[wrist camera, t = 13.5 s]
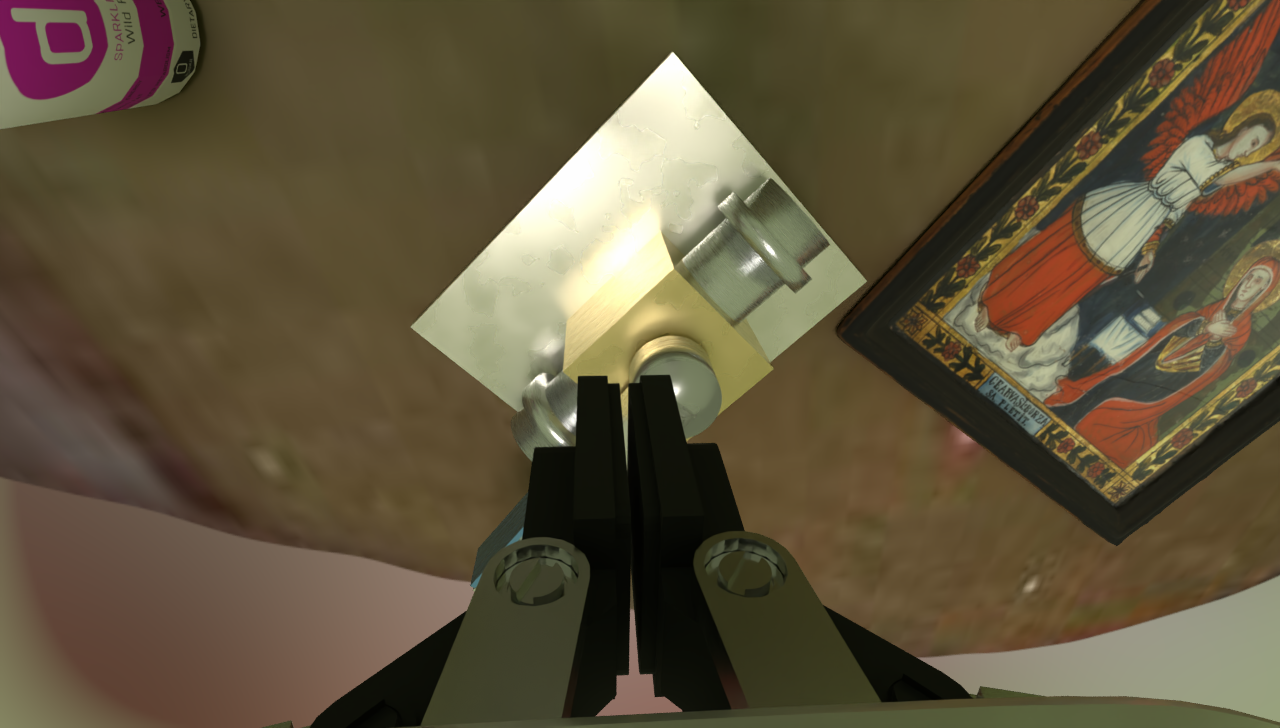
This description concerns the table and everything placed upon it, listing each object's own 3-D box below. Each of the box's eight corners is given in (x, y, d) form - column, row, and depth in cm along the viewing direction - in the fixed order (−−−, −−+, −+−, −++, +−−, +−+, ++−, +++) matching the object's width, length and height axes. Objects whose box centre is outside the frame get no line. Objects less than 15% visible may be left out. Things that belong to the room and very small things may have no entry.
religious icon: (1263, -246, 32) (1321, -269, 30) (1585, 136, 42) (1649, 143, 40) (796, 365, 46) (808, 385, 43) (1124, 542, 56) (1149, 567, 53)
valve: (670, 51, 36) (691, 55, 29) (861, 276, 42) (916, 325, 35) (414, 320, 42) (378, 380, 34) (616, 481, 48) (621, 559, 41)
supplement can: (191, -67, 32) (-95, -141, 19) (218, 113, 36) (-6, 161, 22) (6, -94, 31) (-436, -190, 18) (53, 95, 35) (-286, 132, 21)
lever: (665, 319, 34) (672, 344, 31) (728, 366, 35) (740, 394, 32) (467, 546, 39) (458, 583, 36) (529, 578, 41) (525, 616, 38)
